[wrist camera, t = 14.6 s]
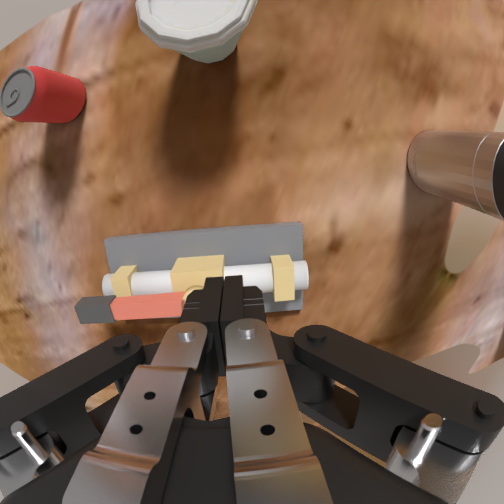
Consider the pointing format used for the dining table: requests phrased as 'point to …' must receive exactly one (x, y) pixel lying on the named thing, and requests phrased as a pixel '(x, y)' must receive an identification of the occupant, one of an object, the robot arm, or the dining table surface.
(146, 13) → the disposable coffee cup
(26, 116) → the beer can
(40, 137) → the dining table surface
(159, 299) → the valve lever
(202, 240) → the valve board
